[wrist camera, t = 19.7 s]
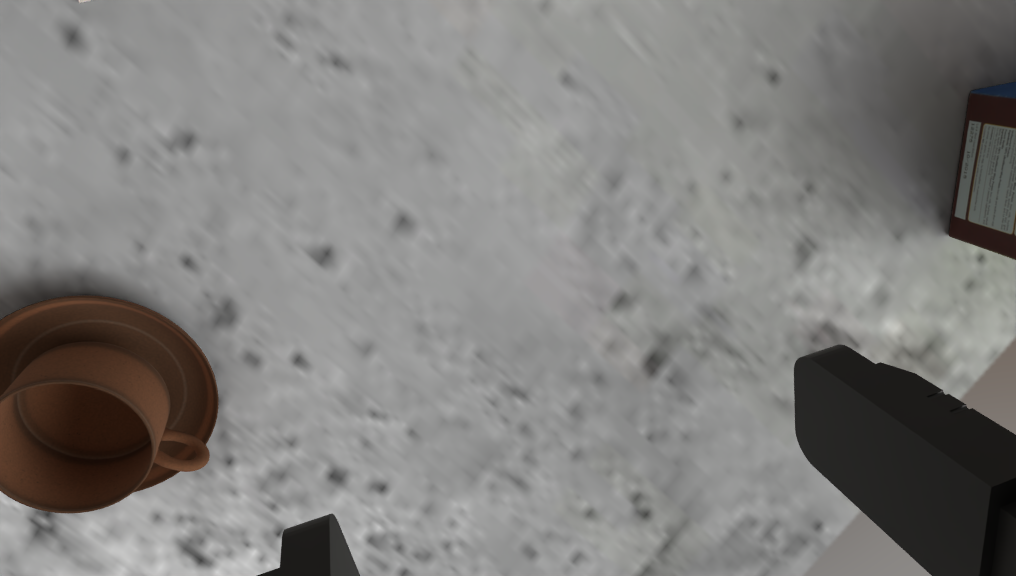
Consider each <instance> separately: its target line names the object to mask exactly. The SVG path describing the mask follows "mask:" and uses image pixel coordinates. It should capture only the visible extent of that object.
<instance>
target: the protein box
mask: <svg viewBox="0 0 1016 576" xmlns="http://www.w3.org/2000/svg"><path fill="white" fill-rule="evenodd" d="M949 236H950V237H952V238H955V239H958V240H961V241H964V242H967V243H970V244H973V245H975V246H978V247H981V248H984V249H987V250H989V251H992V252H995V253H998V254H1001V255H1003V256H1006V257H1009V258H1012V259H1014V260H1016V82H1012V83H1007V84H1002V85H997V86H992V87H987V88H982V89H977V90H973V91H971V93H970V95H969V101H968V108H967V114H966V122H965V129H964V134H963V142H962V149H961V156H960V163H959V169H958V176H957V182H956V189H955V196H954V202H953V208H952V216H951V222H950V229H949Z"/></svg>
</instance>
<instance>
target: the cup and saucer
mask: <svg viewBox="0 0 1016 576" xmlns="http://www.w3.org/2000/svg"><path fill="white" fill-rule="evenodd" d="M217 414H218V390H217V384H216V380H215V376H214V373H213V371H212V368H211V366H210V364H209V362H208V360H207V358H206V356H205V355H204V353H203V352H202V350H201V349H200V347H199V346H198V345H197V344H196V342H195V341H194V340H193V339H192V338H191V337H190V336H189V335H188V334H187V333H186V332H185V331H184V330H182V329H181V328H180V327H179V326H178V325H176V324H175V323H173V322H172V321H170V320H169V319H167V318H166V317H164V316H162V315H160V314H159V313H157V312H155V311H152V310H150V309H148V308H146V307H143V306H140V305H138V304H135V303H131V302H128V301H124V300H120V299H115V298H110V297H101V296H67V297H60V298H54V299H49V300H45V301H41V302H38V303H35V304H32V305H29V306H27V307H24V308H22V309H19V310H17V311H15V312H13V313H11V314H10V315H8V316H6V317H4V318H3V319H1V320H0V491H1V492H3V493H4V494H5V495H7V496H8V497H10V498H12V499H13V500H15V501H17V502H19V503H21V504H24V505H26V506H29V507H32V508H35V509H39V510H43V511H48V512H55V513H82V512H89V511H94V510H98V509H102V508H105V507H108V506H110V505H113V504H115V503H117V502H119V501H121V500H123V499H124V498H126V497H127V496H129V495H130V494H131V493H133V492H136V491H140V490H143V489H146V488H149V487H152V486H154V485H157V484H159V483H161V482H163V481H165V480H167V479H169V478H171V477H172V476H174V475H175V474H177V473H178V472H180V471H184V472H188V471H195V470H198V469H201V468H202V467H204V466H205V465H206V464H207V462H208V461H209V456H210V455H209V450H208V448H207V446H206V443H207V442H208V440H209V438H210V436H211V434H212V432H213V429H214V426H215V423H216V419H217Z"/></svg>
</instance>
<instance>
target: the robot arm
mask: <svg viewBox="0 0 1016 576" xmlns="http://www.w3.org/2000/svg"><path fill="white" fill-rule="evenodd" d="M794 394H795V431H796V437H797V440H798V443H799V445H800V448H801V450H802V452H803V453H804V455H805V457H806V458H807V459H808V461H809V462H810V463H811V464H812V465H813V466H814V467H815V468H816V469H817V470H818V471H819V472H820V473H821V474H822V475H823V476H824V477H826V478H827V479H828V480H829V481H830V482H831V483H832V484H833V485H834V486H835V487H836V488H837V489H839V490H840V491H841V492H842V493H843V494H844V495H845V496H846V497H847V498H848V499H849V500H850V501H852V502H853V503H854V504H855V505H856V506H857V507H858V508H859V509H860V510H861V511H862V512H863V513H865V514H866V515H867V516H868V517H869V518H870V519H871V520H872V521H873V522H874V523H875V524H877V525H878V526H879V527H880V528H881V529H882V530H883V531H884V532H885V533H886V534H887V535H888V536H889V537H891V538H892V539H893V540H894V541H895V542H896V543H897V544H898V545H899V546H900V547H901V548H903V550H905V551H906V552H907V553H908V554H909V555H910V556H911V557H912V558H913V559H914V560H915V561H916V562H918V563H919V564H920V565H921V566H922V567H923V568H924V569H925V570H926V571H927V572H929V574H931V575H932V576H1016V435H1015V434H1014V433H1012V432H1010V431H1009V430H1007V429H1005V428H1004V427H1002V426H1000V425H999V424H997V423H995V422H994V421H992V420H991V419H989V418H987V417H985V416H984V415H982V414H980V413H979V412H977V411H976V410H974V409H973V408H972V409H968V408H967V406H966V404H964V403H963V402H961V401H959V400H958V399H956V398H955V397H953V396H951V395H950V394H947V395H945V394H944V393H943V390H941V389H940V388H938V387H936V386H935V385H933V384H932V383H930V382H928V381H927V380H925V379H923V378H922V377H920V376H918V375H917V374H915V373H912V372H909V371H906V370H903V369H900V368H896V367H893V366H890V365H887V364H884V363H881V362H880V363H877V364H874V363H873V362H871V361H870V360H868V359H867V358H865V357H863V356H862V355H860V354H859V353H857V352H856V351H854V350H852V349H851V348H849V347H847V346H845V345H836V346H833V347H830V348H827V349H824V350H821V351H818V352H815V353H812V354H809V355H806V356H803V357H800V358H799V359H798V360H797V361H796V363H795V366H794ZM257 576H360V574H359V572H358V569H357V567H356V565H355V562H354V560H353V557H352V555H351V552H350V550H349V547H348V545H347V543H346V540H345V538H344V535H343V533H342V530H341V528H340V526H339V523H338V521H337V519H336V517H335V516H334V515H333V514H329V515H326V516H323V517H320V518H317V519H314V520H311V521H308V522H305V523H302V524H299V525H296V526H293V527H290V528H287V529H285V530H284V532H283V535H282V547H281V562H280V568H278V569H275V570H272V571H269V572H266V573H263V574H260V575H257Z"/></svg>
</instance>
